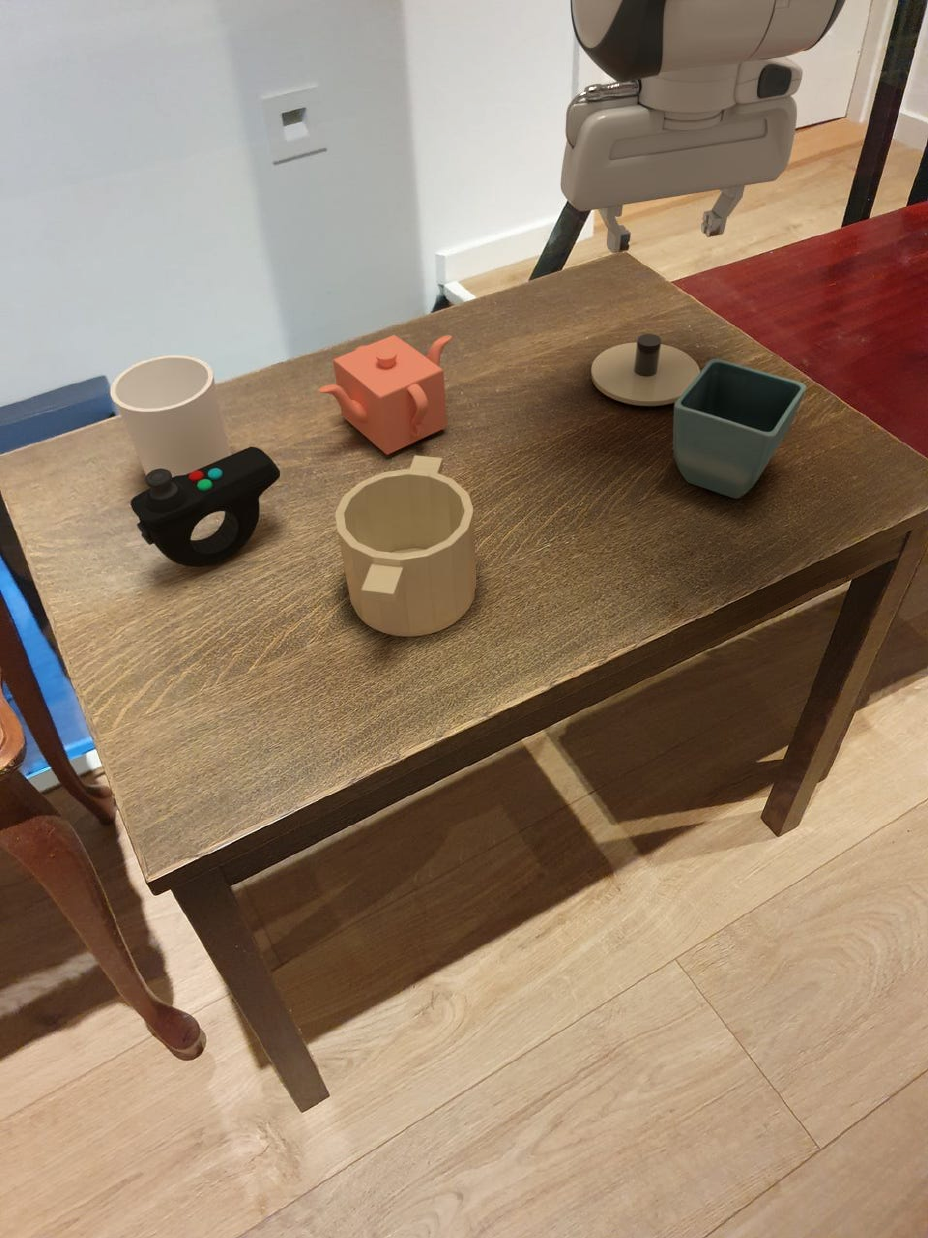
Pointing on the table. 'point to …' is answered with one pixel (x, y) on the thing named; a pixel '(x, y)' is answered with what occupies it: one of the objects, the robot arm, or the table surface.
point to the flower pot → (732, 425)
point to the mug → (172, 413)
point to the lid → (644, 372)
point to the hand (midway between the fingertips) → (665, 241)
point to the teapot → (391, 391)
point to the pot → (408, 549)
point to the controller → (205, 507)
